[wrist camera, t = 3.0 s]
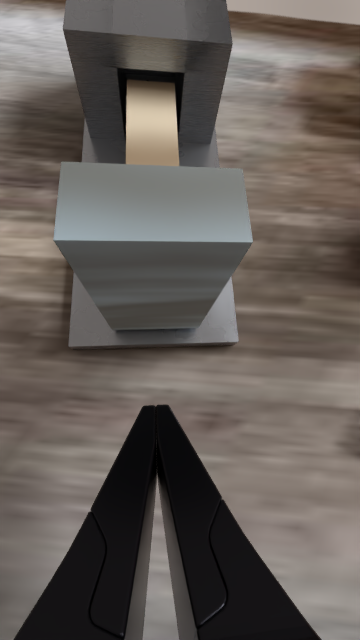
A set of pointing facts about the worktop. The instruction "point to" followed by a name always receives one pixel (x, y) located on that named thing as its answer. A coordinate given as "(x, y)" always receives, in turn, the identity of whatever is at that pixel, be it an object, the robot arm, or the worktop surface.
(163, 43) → the grey long blocky piece
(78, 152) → the worktop surface
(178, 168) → the shaft
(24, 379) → the worktop surface
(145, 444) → the robot arm
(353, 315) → the worktop surface
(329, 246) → the worktop surface
